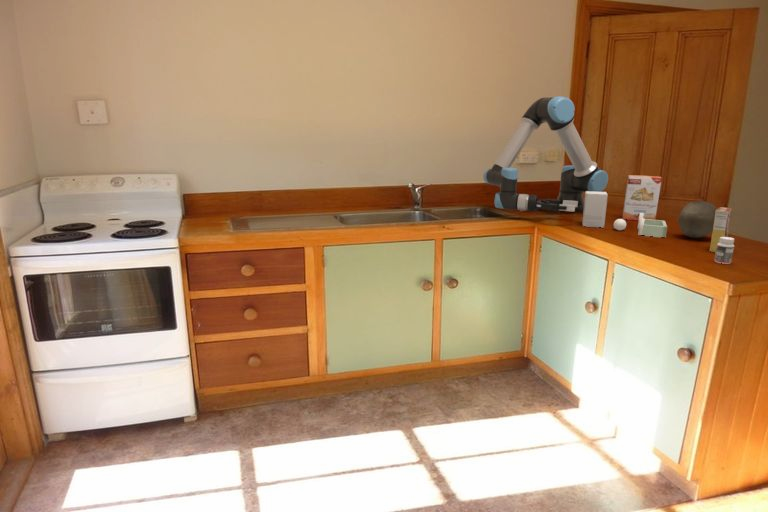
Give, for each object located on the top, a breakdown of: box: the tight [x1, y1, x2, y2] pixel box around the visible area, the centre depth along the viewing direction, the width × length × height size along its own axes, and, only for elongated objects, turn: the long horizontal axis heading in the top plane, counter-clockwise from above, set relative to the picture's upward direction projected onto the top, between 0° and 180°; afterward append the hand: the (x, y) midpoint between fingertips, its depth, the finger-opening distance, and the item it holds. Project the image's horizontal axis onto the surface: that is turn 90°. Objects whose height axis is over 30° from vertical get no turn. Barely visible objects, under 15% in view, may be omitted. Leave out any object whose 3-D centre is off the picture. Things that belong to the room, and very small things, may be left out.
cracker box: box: [621, 174, 663, 222], centre depth 239 cm, size 14×6×21 cm, turn 68°
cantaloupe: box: [678, 200, 718, 239], centre depth 202 cm, size 14×14×15 cm
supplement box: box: [581, 191, 609, 229], centre depth 226 cm, size 9×9×15 cm
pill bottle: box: [714, 236, 735, 265], centre depth 168 cm, size 5×5×8 cm
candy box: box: [709, 206, 733, 253], centre depth 183 cm, size 9×4×15 cm, turn 140°
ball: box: [613, 218, 627, 231], centre depth 217 cm, size 5×5×5 cm
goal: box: [637, 213, 668, 239], centre depth 212 cm, size 16×10×7 cm, turn 155°
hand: (576, 206), depth 228 cm, fingers open, 13 cm apart
